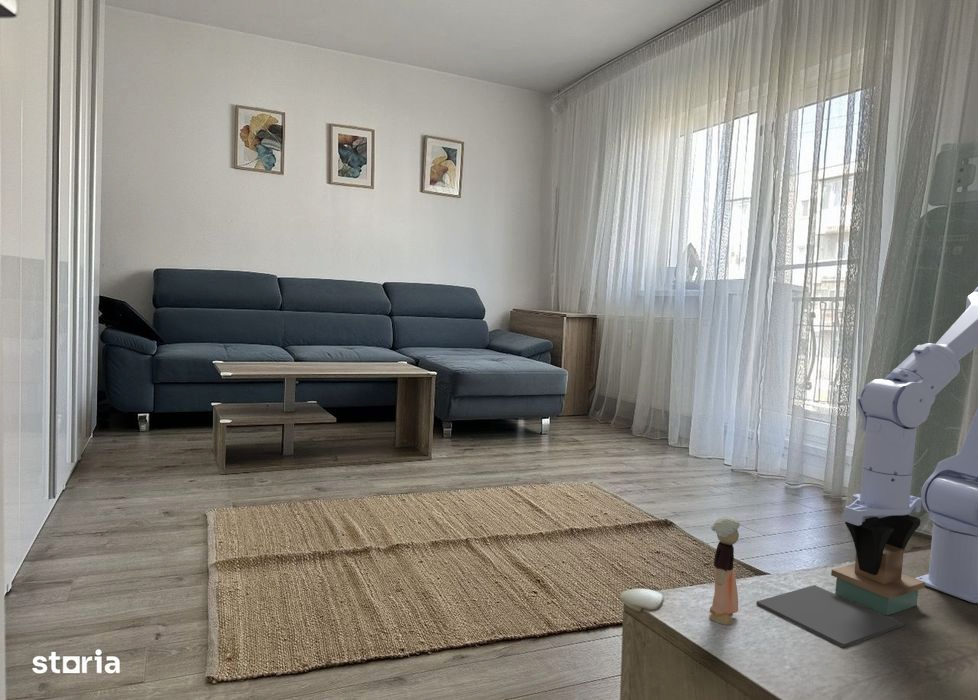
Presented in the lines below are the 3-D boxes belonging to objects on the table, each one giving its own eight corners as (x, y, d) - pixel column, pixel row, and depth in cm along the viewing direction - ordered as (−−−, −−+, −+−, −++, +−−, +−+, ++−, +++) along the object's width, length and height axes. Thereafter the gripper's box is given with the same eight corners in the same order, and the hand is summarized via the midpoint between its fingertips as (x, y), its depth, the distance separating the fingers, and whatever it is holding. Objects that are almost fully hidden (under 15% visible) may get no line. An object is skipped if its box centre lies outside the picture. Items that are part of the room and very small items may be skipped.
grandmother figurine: (742, 631, 81) (750, 527, 80) (709, 626, 82) (716, 524, 81) (733, 603, 88) (739, 508, 87) (702, 599, 89) (708, 505, 88)
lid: (865, 565, 96) (868, 533, 96) (924, 587, 90) (927, 552, 89) (831, 575, 92) (833, 541, 92) (889, 599, 86) (893, 562, 85)
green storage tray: (865, 584, 96) (866, 567, 96) (916, 605, 90) (918, 586, 90) (835, 593, 92) (836, 576, 92) (886, 615, 86) (888, 596, 86)
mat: (814, 587, 94) (814, 585, 94) (902, 626, 84) (902, 622, 84) (756, 604, 88) (756, 601, 88) (843, 647, 78) (843, 644, 78)
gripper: (888, 458, 97) (879, 550, 98) (825, 467, 90) (817, 567, 91) (940, 470, 91) (931, 568, 92) (878, 481, 84) (868, 587, 85)
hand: (878, 569), depth 91 cm, fingers closed on lid, 4 cm apart
